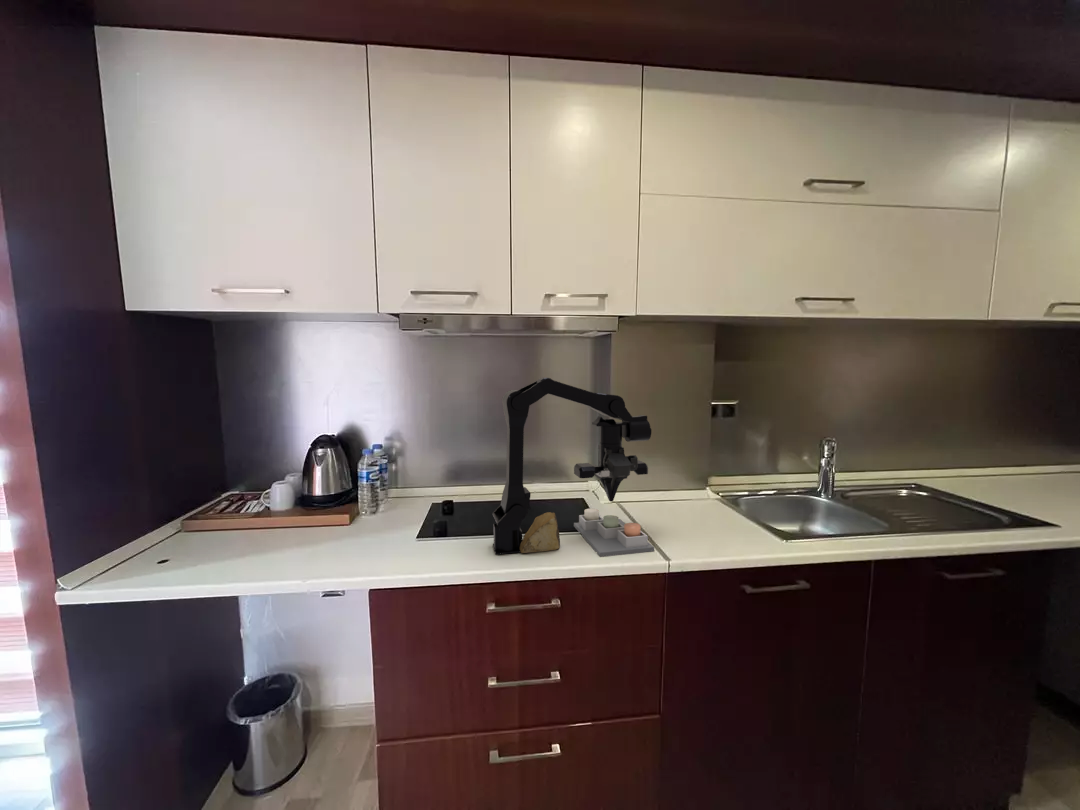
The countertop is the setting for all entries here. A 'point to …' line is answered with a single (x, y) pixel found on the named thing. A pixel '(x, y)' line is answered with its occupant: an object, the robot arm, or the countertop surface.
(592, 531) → the panel
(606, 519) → the sage button
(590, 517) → the cream button
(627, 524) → the terracotta button
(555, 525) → the rock
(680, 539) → the countertop surface
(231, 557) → the countertop surface
